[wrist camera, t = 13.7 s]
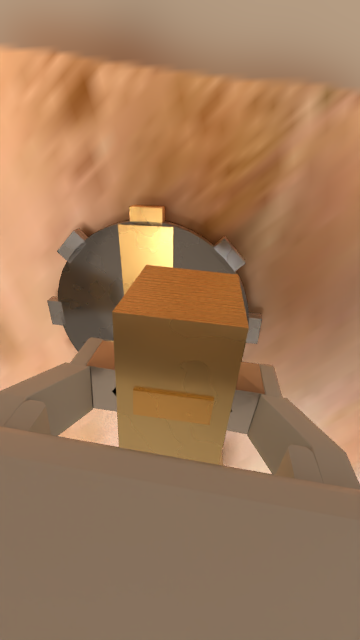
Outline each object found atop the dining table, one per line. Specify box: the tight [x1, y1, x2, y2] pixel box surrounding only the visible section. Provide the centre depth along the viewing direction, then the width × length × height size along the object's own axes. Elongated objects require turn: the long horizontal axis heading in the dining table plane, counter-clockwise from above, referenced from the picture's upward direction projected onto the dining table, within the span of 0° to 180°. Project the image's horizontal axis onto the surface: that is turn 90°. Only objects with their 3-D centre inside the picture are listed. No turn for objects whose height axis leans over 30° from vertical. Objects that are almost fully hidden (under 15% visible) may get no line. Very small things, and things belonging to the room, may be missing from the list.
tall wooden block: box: [112, 265, 249, 465], centre depth 10 cm, size 4×6×4 cm, turn 176°
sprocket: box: [47, 205, 262, 352], centre depth 25 cm, size 20×20×6 cm
